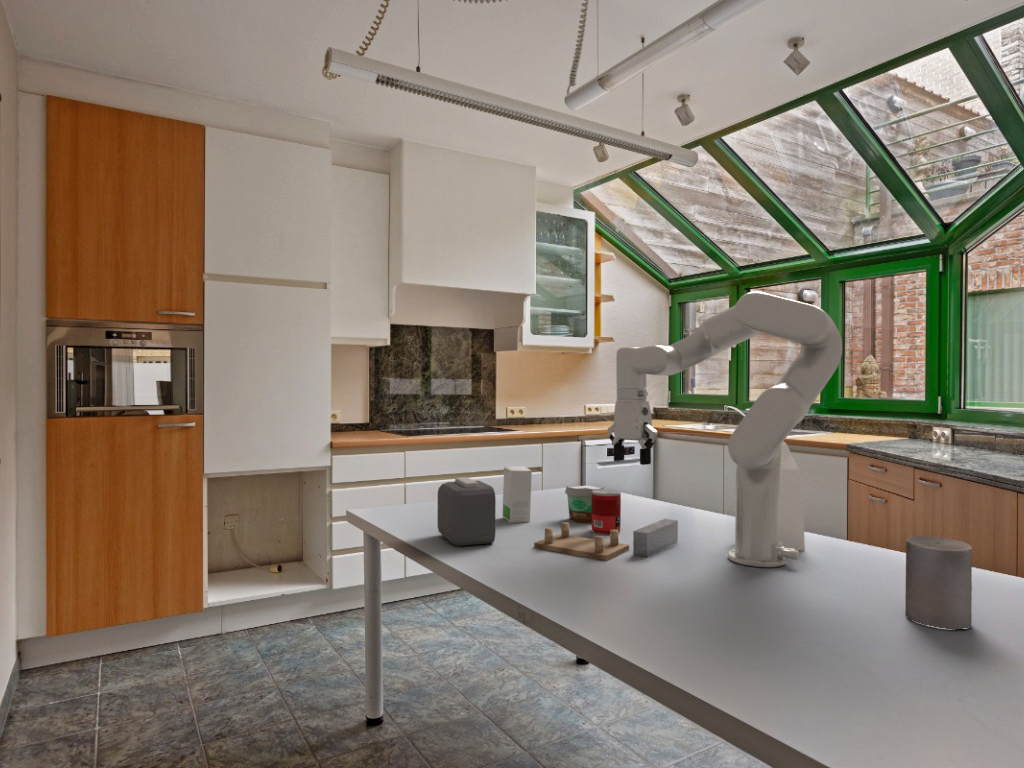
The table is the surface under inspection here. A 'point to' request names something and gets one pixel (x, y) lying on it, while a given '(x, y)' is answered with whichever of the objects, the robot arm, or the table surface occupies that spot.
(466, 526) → the alarm clock
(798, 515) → the milk
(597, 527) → the canned food
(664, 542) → the steel bar
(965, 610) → the pillar candle
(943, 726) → the table surface
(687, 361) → the robot arm
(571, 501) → the food container
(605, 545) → the rack
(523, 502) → the skincare box
